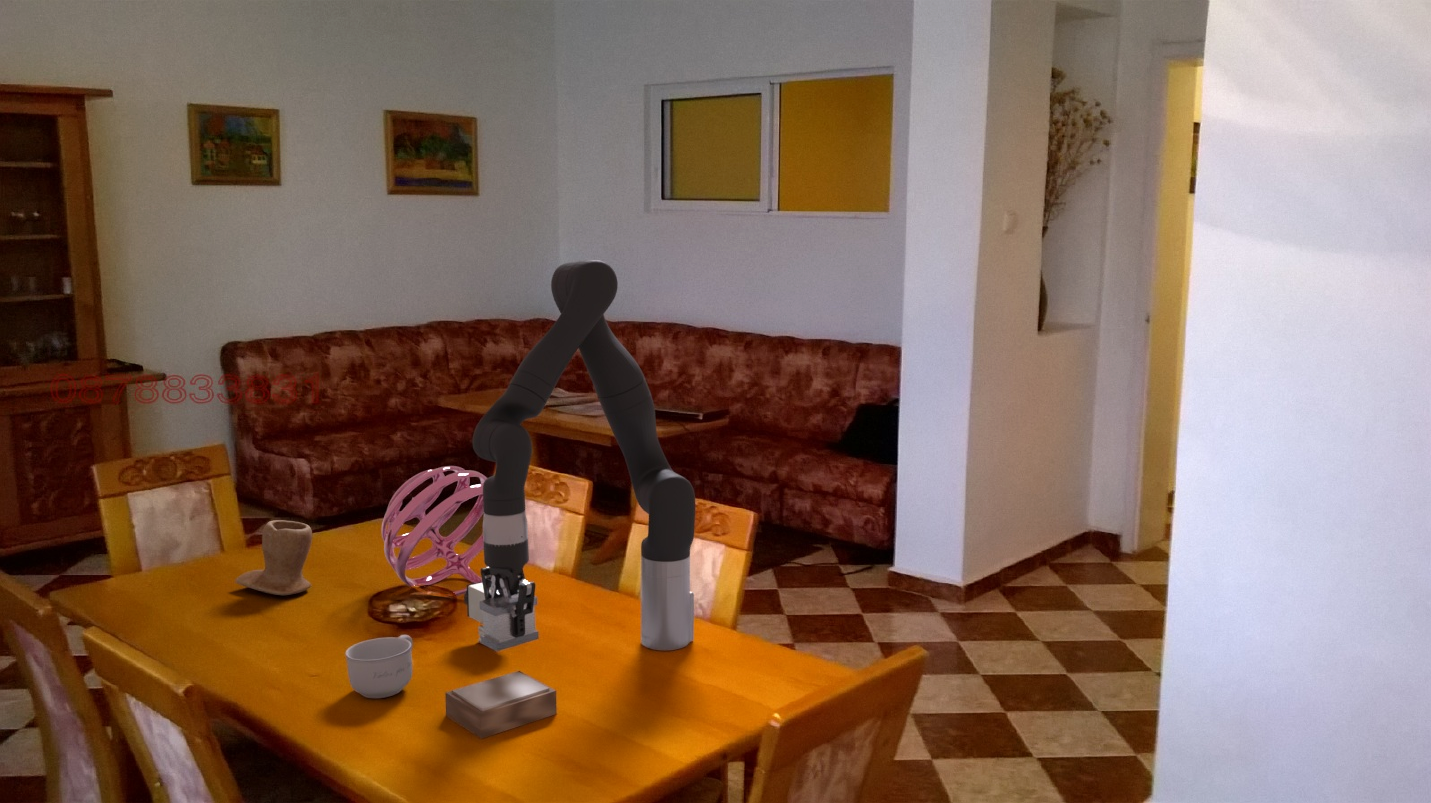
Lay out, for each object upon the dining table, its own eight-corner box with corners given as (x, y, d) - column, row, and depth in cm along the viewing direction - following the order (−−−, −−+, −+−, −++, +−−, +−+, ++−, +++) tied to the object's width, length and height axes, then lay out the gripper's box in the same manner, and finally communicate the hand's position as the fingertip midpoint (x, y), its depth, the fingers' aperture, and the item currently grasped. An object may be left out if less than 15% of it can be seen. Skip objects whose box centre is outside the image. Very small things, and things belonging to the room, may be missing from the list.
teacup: (378, 709, 192) (376, 663, 191) (333, 695, 198) (331, 649, 197) (439, 681, 204) (438, 637, 203) (395, 668, 210) (394, 625, 208)
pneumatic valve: (496, 654, 216) (495, 592, 215) (464, 637, 225) (462, 577, 223) (522, 647, 220) (521, 586, 218) (489, 631, 229) (487, 571, 227)
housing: (522, 631, 207) (521, 590, 206) (538, 638, 204) (537, 596, 202) (481, 643, 202) (479, 601, 201) (496, 651, 198) (495, 608, 197)
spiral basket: (553, 505, 248) (472, 423, 257) (447, 563, 229) (363, 472, 238) (526, 584, 266) (451, 505, 275) (425, 644, 247) (349, 557, 256)
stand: (519, 693, 199) (519, 668, 199) (556, 713, 191) (556, 688, 191) (445, 715, 190) (445, 689, 189) (481, 738, 182) (480, 711, 181)
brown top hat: (326, 588, 253) (323, 521, 251) (279, 603, 244) (275, 533, 241) (281, 576, 262) (278, 511, 259) (234, 590, 252) (230, 522, 249)
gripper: (548, 540, 197) (551, 637, 200) (501, 524, 207) (505, 616, 210) (509, 550, 192) (513, 648, 195) (464, 532, 202) (468, 626, 205)
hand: (509, 631), depth 202 cm, fingers closed on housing, 5 cm apart
